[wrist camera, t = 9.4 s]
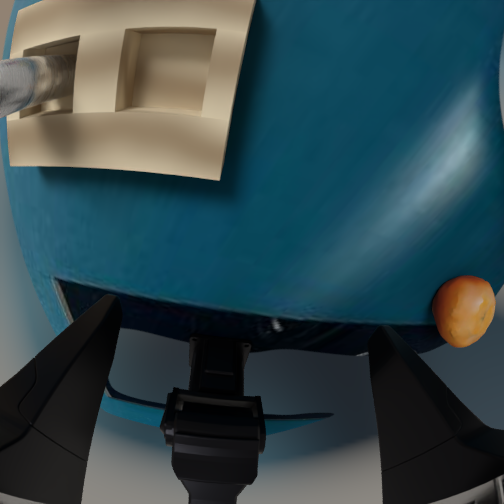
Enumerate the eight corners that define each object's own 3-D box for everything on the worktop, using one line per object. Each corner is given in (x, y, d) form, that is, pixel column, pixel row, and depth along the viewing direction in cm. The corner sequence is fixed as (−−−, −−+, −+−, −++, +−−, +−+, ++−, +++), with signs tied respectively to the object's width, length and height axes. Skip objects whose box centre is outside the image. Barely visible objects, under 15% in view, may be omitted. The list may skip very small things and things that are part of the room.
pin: (83, 95, 14) (1, 121, 7) (49, 98, 13) (-31, 128, 7) (87, 51, 12) (4, 55, 5) (52, 58, 11) (-30, 71, 5)
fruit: (411, 335, 28) (452, 361, 20) (421, 269, 27) (468, 281, 19) (455, 328, 28) (494, 348, 20) (464, 269, 27) (508, 279, 19)
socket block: (223, 164, 18) (219, 180, 15) (33, 152, 16) (10, 166, 13) (257, -6, 11) (260, -22, 8) (42, 12, 9) (18, 10, 6)
